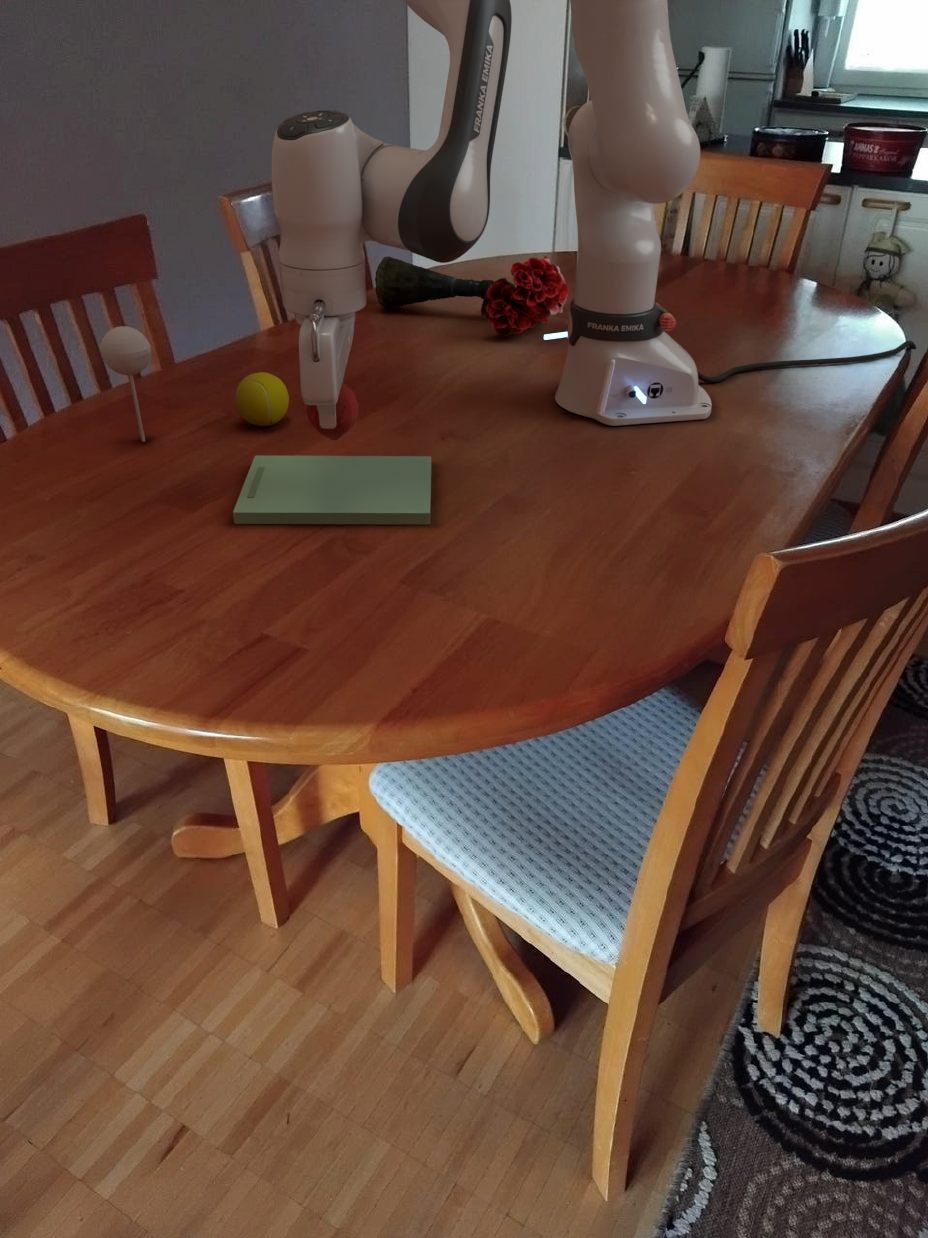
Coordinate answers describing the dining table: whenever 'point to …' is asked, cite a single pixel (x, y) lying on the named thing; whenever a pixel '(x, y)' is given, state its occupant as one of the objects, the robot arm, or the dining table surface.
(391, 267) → the carnation
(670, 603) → the dining table surface
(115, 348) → the lollipop
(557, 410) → the dining table surface
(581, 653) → the dining table surface
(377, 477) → the cutting board
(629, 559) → the dining table surface
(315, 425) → the onion
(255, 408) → the tennis ball
